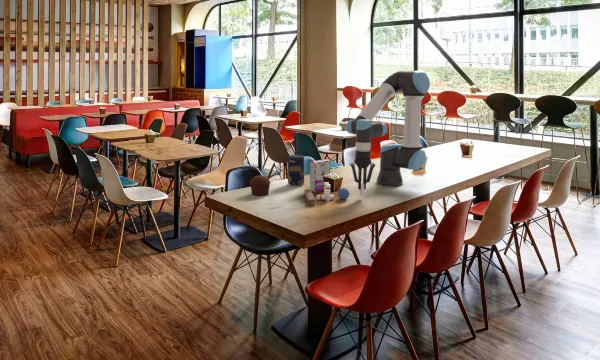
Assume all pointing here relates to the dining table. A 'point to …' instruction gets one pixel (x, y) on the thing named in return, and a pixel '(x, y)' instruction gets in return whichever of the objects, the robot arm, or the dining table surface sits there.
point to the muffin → (260, 185)
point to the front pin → (322, 197)
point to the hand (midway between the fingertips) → (361, 195)
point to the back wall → (309, 197)
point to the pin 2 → (327, 192)
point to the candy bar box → (318, 174)
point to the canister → (296, 170)
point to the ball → (343, 193)
